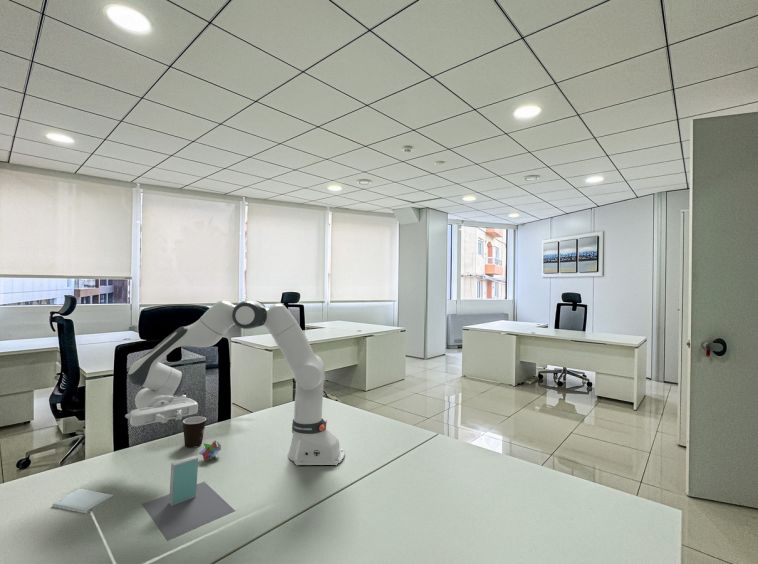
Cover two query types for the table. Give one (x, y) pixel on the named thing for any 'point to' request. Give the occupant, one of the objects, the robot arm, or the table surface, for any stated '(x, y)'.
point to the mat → (187, 511)
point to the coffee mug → (193, 431)
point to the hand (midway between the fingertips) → (172, 418)
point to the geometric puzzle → (210, 450)
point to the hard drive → (82, 500)
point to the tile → (183, 480)
